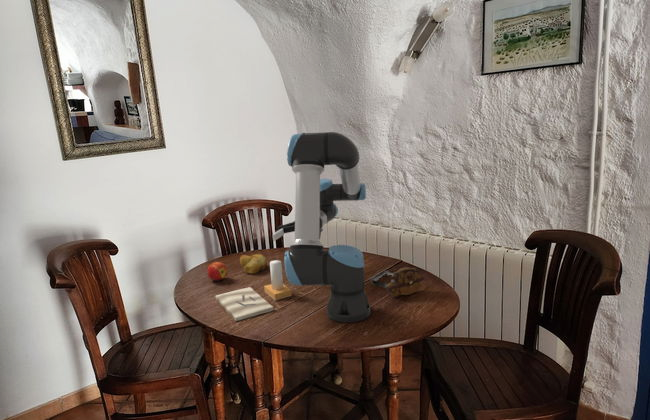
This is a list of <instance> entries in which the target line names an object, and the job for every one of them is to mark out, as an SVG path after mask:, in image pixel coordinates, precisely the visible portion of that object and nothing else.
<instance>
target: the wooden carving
mask: <svg viewBox="0 0 650 420" xmlns="http://www.w3.org/2000/svg"><path fill="white" fill-rule="evenodd" d="M393 273H394V274H393V276H392V279H394V281H395V282H387V284H388V285H386V288H385V289H386V290H387V292H388V295H389V296H392V297H396V296H398V295H402V296H409V295H412V294H414V293H416V292H417V291H419V290H420V289H421V288H422V287H423V285H422V283H421V282H423V281H424V280H425V279H426V277H424V276H419V275H420V271H419V269H417V268H415V267H412V268H411V267H407V266H406V267H402V268H400V269H398V270H397V271H393Z"/></svg>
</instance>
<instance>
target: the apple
mask: <svg viewBox="0 0 650 420" xmlns="http://www.w3.org/2000/svg"><path fill="white" fill-rule="evenodd" d="M206 273H207V276H208V278H210V279H211V280H212V281H215V282H216V281H218V282H219V281H223V280H225V279H226V277H227V276H228V267H227V266H226V264H225V263H223V262H220V261H215V262H212V263H210V264H209V266H208V267H207V271H206Z"/></svg>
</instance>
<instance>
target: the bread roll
mask: <svg viewBox="0 0 650 420" xmlns="http://www.w3.org/2000/svg"><path fill="white" fill-rule="evenodd" d="M267 261H268V260H267V258H266V257H265V256H264V255H263V254H260V253H258V254H257V253H254V254H252V255H246V254H242V255H241V256H240V258H239V263H240V266H241V267H242V269H243V270H244V272H245V273H247V274H257V273H258V272H262V271H264V270H265V269H266V266H267Z"/></svg>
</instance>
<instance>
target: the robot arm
mask: <svg viewBox="0 0 650 420" xmlns="http://www.w3.org/2000/svg"><path fill="white" fill-rule="evenodd" d="M286 150H287V151H286V155H287V157H286V158H287V159H286V160H287V164H288V166H289V167H291V171H292V172H293V173H294V174H295V198H294V199H295V201H294V203H295V207H294V209H295V210H294V211H295V213H294V221H292V222H288V223H286V224H282V225H278V226H277V230H276V231H275V232H273V234H272V240H273V242H274V241H275V242H276V241H277V240H278V239H280V238H281V237H283V236H284V235H285V234H289V233H293V232H294V241H293V242H292V243H291V244H290V245H289V250H286V251H285V252H284V257H283V259H284V262H283V263H284V272H285V276H286V278H287V281H288V282H289V283H290V285H293V286H302V287H303V286H330V294H329V297H328V301H327V303H326V316H327V317H328V318H329V319H330V320H332V321H334V322H338V323H345V324H346V323H347V324H350V323H357V322H358V323H359V322H361V321H363V320H366V319H367V318H369V316H370V315H371V305H370V302H369V300H368V296H367V294H366V291H365V290H366V289H365V261H364V259H365V258H364V254H363V252H362V250H360V249H359V248H357V247H355V246H352V245H346V244H337V245H331V246H330V247H329V248H328V250H324V249H325V248H324V244H322V243H321V241H320V240H321V235H322V234H321V233H322V232H323V230H324V229H323V227H324V226H325V225H326V224H328V223H329V222H331V221H333V220H334V219H335V217H337V216H338V213H339V209H338V207H337V205H336V204H335V203H334V202H342V201H344V202H345V201H347V202H349V201H351V202H352V201H355V202H358V201H365V199H366V197H367V196H366V195H367V190H366V189H367V188H366V184H365V183H364V182H363V183H361V180H360V171H359V162H360V151H359V149H358V148H357V145H355V143H354V142H353V140H351V139H350V138H348V137H347V136H346V135H344V134H341V133H340V132H336V131H328V132H325V131H324V132H302V133H295V134H292V135H291V137H290V138H289V141H288V144H287V149H286ZM332 165H333V166H334V165H335V166H336V167H337V168H338V171H339V176H340V180H341V183H333V180H332V179H330V178H321V174H323V172H324V171H325V166H332Z"/></svg>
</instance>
